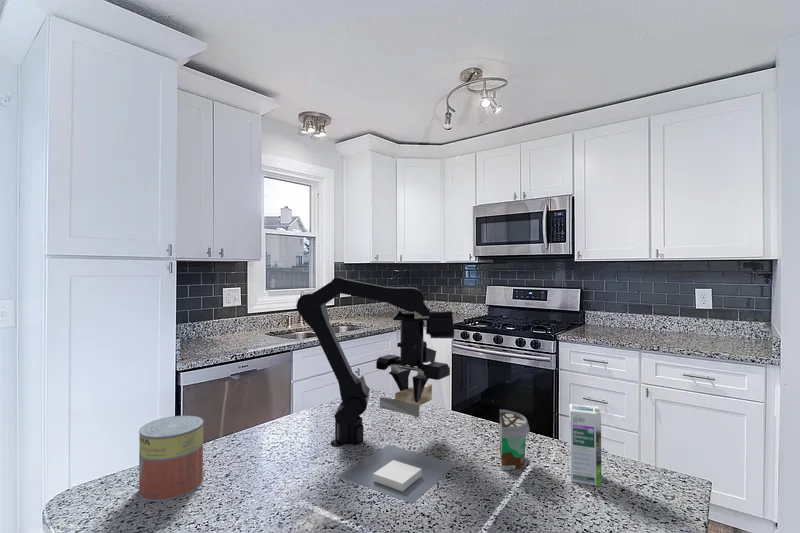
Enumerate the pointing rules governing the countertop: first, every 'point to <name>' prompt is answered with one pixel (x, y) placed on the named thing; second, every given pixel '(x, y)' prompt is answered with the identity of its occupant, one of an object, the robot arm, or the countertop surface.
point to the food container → (512, 439)
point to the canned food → (170, 457)
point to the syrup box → (585, 444)
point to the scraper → (407, 401)
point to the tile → (397, 475)
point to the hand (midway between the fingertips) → (411, 401)
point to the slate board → (429, 466)
